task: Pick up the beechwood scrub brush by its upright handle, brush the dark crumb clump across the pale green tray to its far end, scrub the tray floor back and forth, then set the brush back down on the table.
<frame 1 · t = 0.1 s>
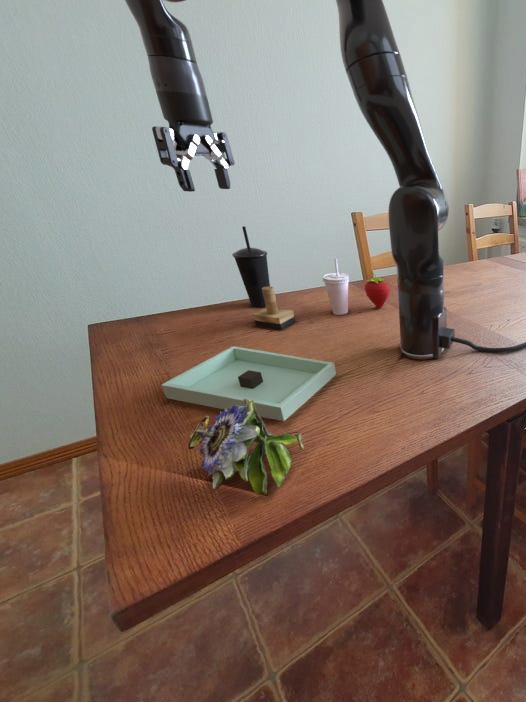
hand: (208, 190, 75), 29 cm above the table, tool pointing down, fingers open, 8 cm apart
brush: (275, 324, 90), on the table
passion flower: (256, 468, 50), on the table
strawberry: (378, 309, 102), on the table
tray: (258, 389, 65), on the table
drinking cup: (262, 305, 100), on the table
crumb: (252, 384, 65), point 1 cm above the table, touching tray
smoothie: (340, 312, 99), on the table
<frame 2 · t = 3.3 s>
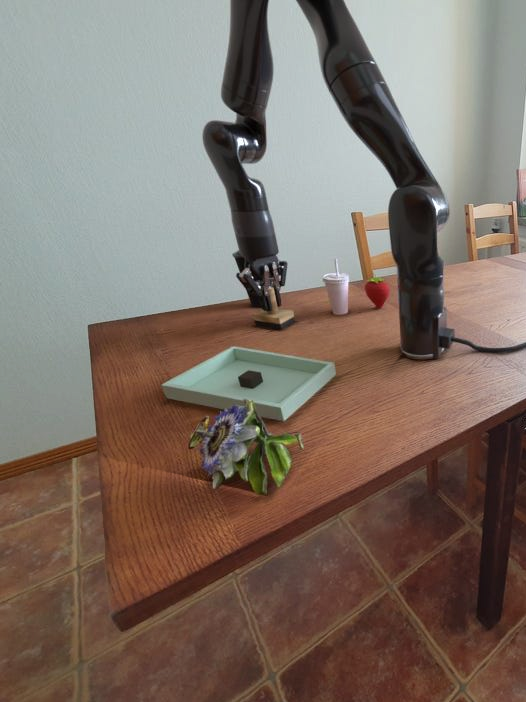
hand: (272, 308, 88), 4 cm above the table, tool pointing down, fingers closed on brush, 2 cm apart
brush: (275, 324, 90), on the table, touching gripper
everything else where it was.
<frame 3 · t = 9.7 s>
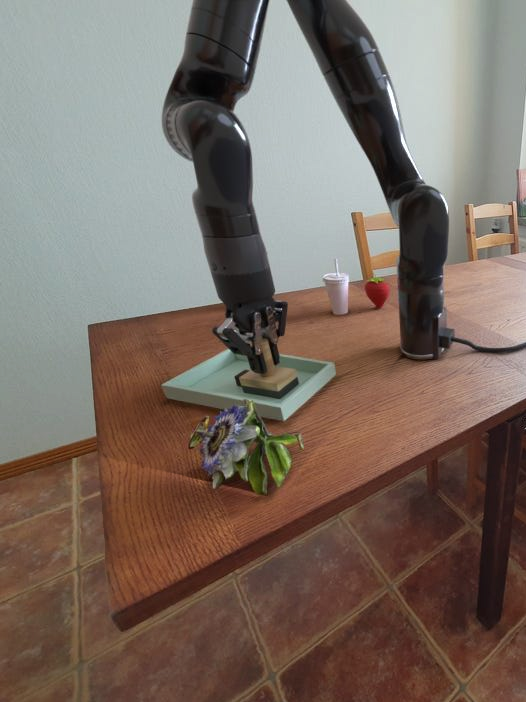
hand: (267, 367, 63), 5 cm above the table, tool pointing down, fingers closed on brush, 2 cm apart
brush: (272, 388, 64), point 1 cm above the table, touching crumb, gripper, tray
crumb: (248, 383, 65), point 1 cm above the table, touching brush, tray
everything else where it was.
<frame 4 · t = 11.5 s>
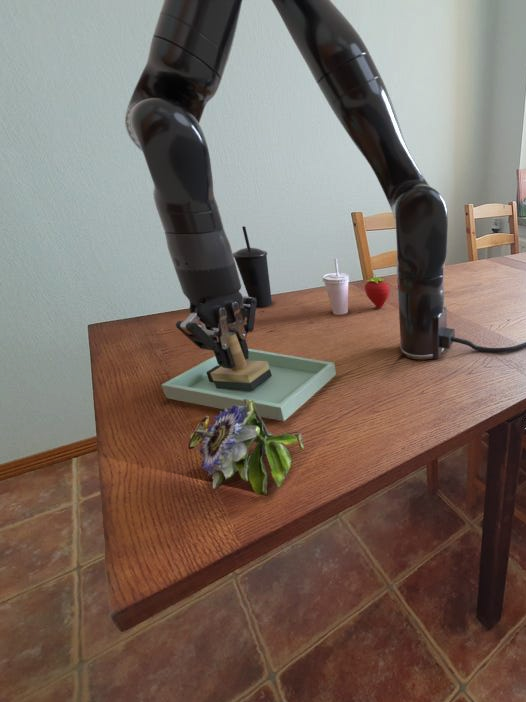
hand: (235, 362, 64), 5 cm above the table, tool pointing down, fingers closed on brush, 2 cm apart
brush: (245, 382, 65), point 1 cm above the table, tilted 5°, touching crumb, gripper, tray
crumb: (221, 379, 66), point 1 cm above the table, touching brush, tray
everything else where it was.
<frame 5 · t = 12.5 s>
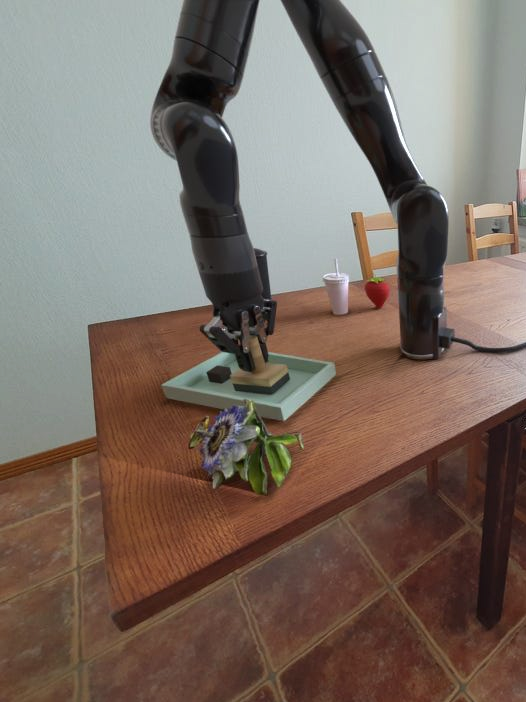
hand: (255, 365, 63), 5 cm above the table, tool pointing down, fingers closed on brush, 2 cm apart
brush: (263, 384, 65), point 1 cm above the table, touching gripper
crumb: (221, 379, 66), point 1 cm above the table, touching tray
everything else where it was.
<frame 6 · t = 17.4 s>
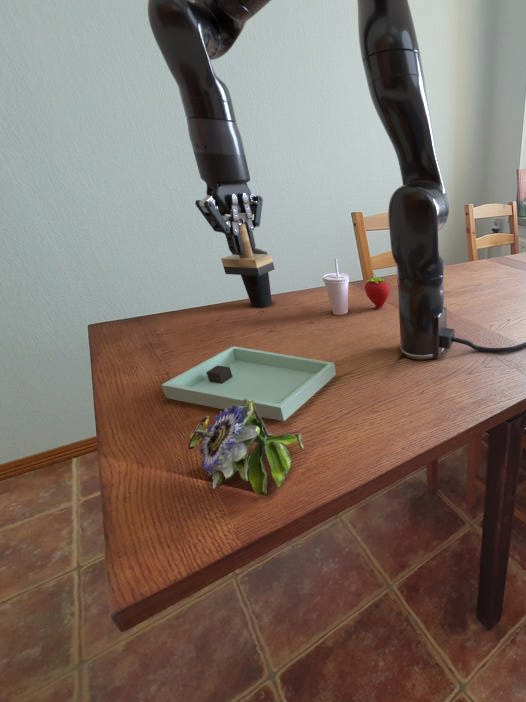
hand: (244, 252, 72), 19 cm above the table, tool pointing down, fingers closed on brush, 2 cm apart
brush: (250, 271, 74), point 15 cm above the table, touching gripper
everything else where it was.
when the fingers open (4 cm above the table, at t = 21.8 s): brush stays where it is, on the table.
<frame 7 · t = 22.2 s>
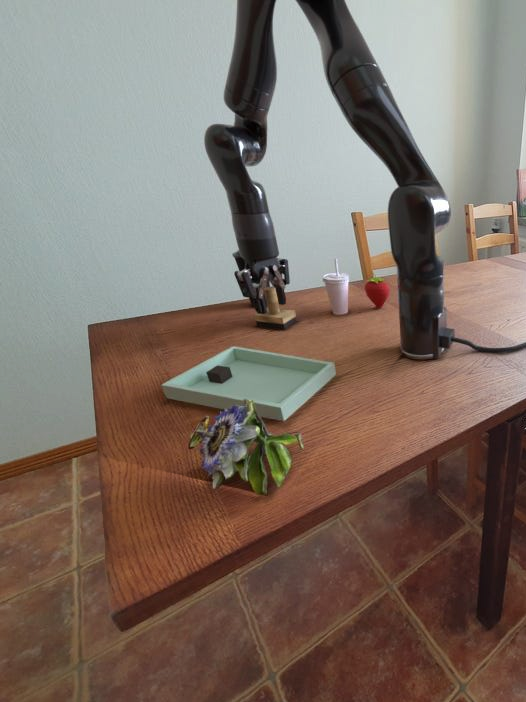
hand: (272, 308, 88), 4 cm above the table, tool pointing down, fingers open, 6 cm apart
brush: (277, 324, 90), on the table
everything else where it was.
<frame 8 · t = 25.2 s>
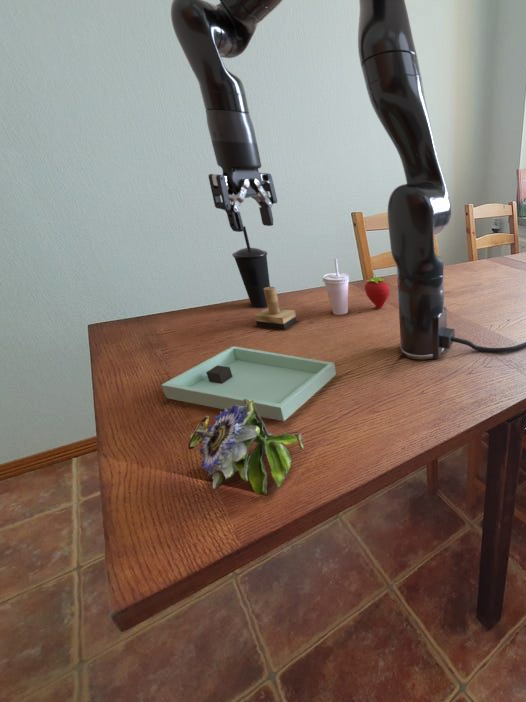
hand: (254, 228, 79), 22 cm above the table, tool pointing down, fingers open, 8 cm apart
nothing on the table moved.
at the end: crumb inside the target area in the tray (0.3 cm from its centre), point 0.8 cm above the tray's base; the gripper is holding nothing; brush inside the target area (0.4 cm from its centre), on the table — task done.
